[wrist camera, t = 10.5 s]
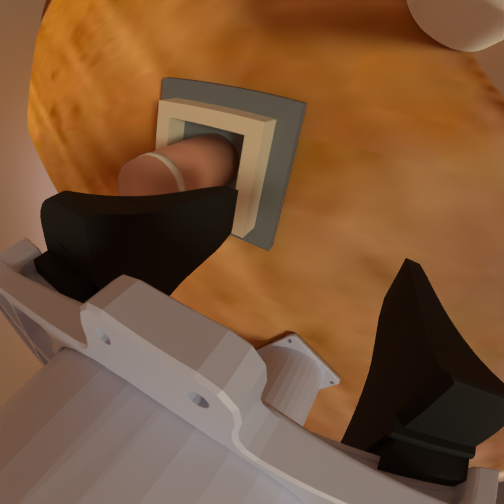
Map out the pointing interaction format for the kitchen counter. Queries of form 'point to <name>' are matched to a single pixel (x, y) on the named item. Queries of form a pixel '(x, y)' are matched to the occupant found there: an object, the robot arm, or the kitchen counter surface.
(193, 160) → the tube
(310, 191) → the kitchen counter surface
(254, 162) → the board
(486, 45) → the can
